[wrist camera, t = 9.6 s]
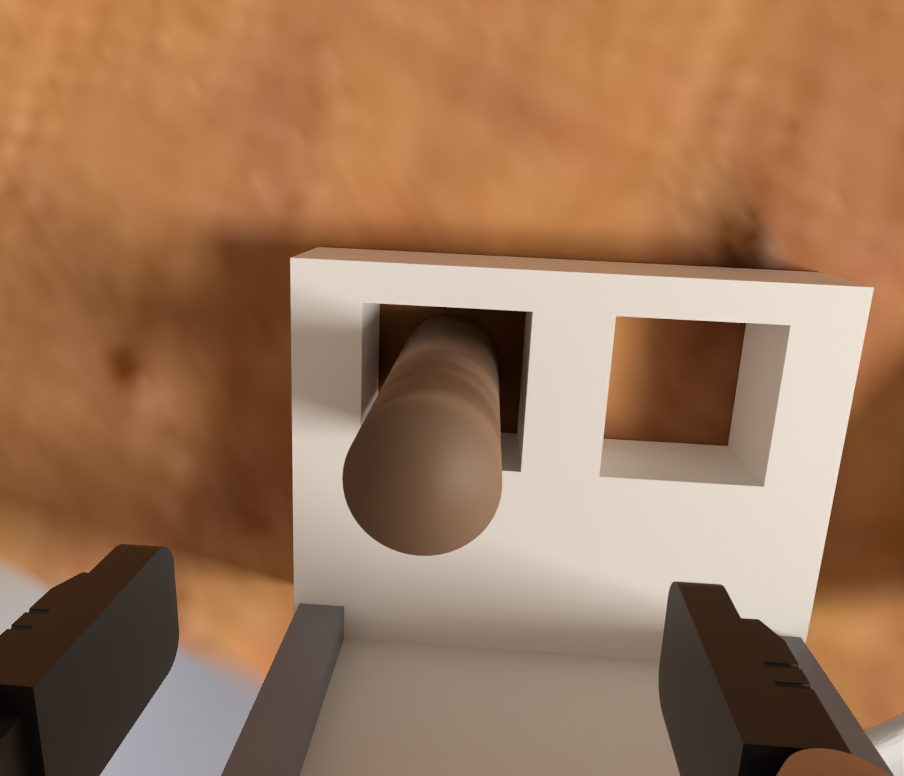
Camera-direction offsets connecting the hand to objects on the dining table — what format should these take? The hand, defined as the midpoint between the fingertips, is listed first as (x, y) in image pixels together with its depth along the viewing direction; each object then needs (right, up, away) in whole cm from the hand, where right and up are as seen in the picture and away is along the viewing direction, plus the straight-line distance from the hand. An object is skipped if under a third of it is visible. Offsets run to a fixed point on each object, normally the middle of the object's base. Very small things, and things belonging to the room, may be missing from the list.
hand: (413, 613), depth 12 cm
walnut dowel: (+1, +5, +16) cm, 17 cm away
